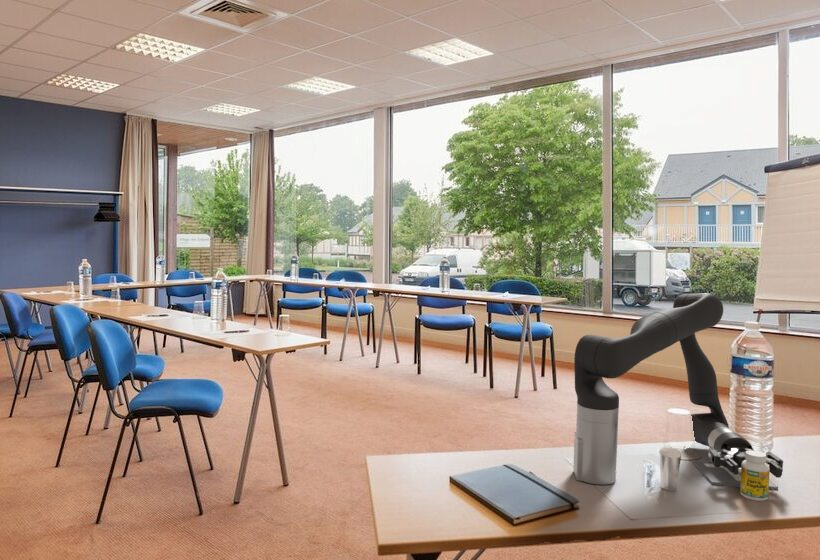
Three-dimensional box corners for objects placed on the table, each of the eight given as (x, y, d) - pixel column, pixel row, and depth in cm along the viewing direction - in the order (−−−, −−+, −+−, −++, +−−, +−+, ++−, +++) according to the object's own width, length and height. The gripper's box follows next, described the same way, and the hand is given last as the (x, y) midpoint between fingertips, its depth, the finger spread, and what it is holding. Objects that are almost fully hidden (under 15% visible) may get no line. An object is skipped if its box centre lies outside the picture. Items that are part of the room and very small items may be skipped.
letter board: (711, 484, 136) (712, 481, 136) (692, 462, 150) (692, 459, 150) (778, 489, 134) (778, 486, 134) (752, 466, 148) (752, 464, 148)
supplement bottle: (764, 493, 132) (766, 450, 131) (771, 503, 127) (773, 459, 126) (737, 489, 134) (739, 448, 133) (742, 499, 128) (745, 456, 128)
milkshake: (686, 493, 131) (688, 449, 130) (660, 491, 132) (662, 446, 131) (680, 485, 135) (682, 442, 135) (655, 483, 137) (657, 440, 136)
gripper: (699, 429, 145) (723, 452, 129) (761, 433, 143) (794, 457, 127) (697, 459, 146) (721, 486, 130) (760, 464, 144) (792, 491, 128)
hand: (757, 471), depth 128 cm, fingers open, 8 cm apart
